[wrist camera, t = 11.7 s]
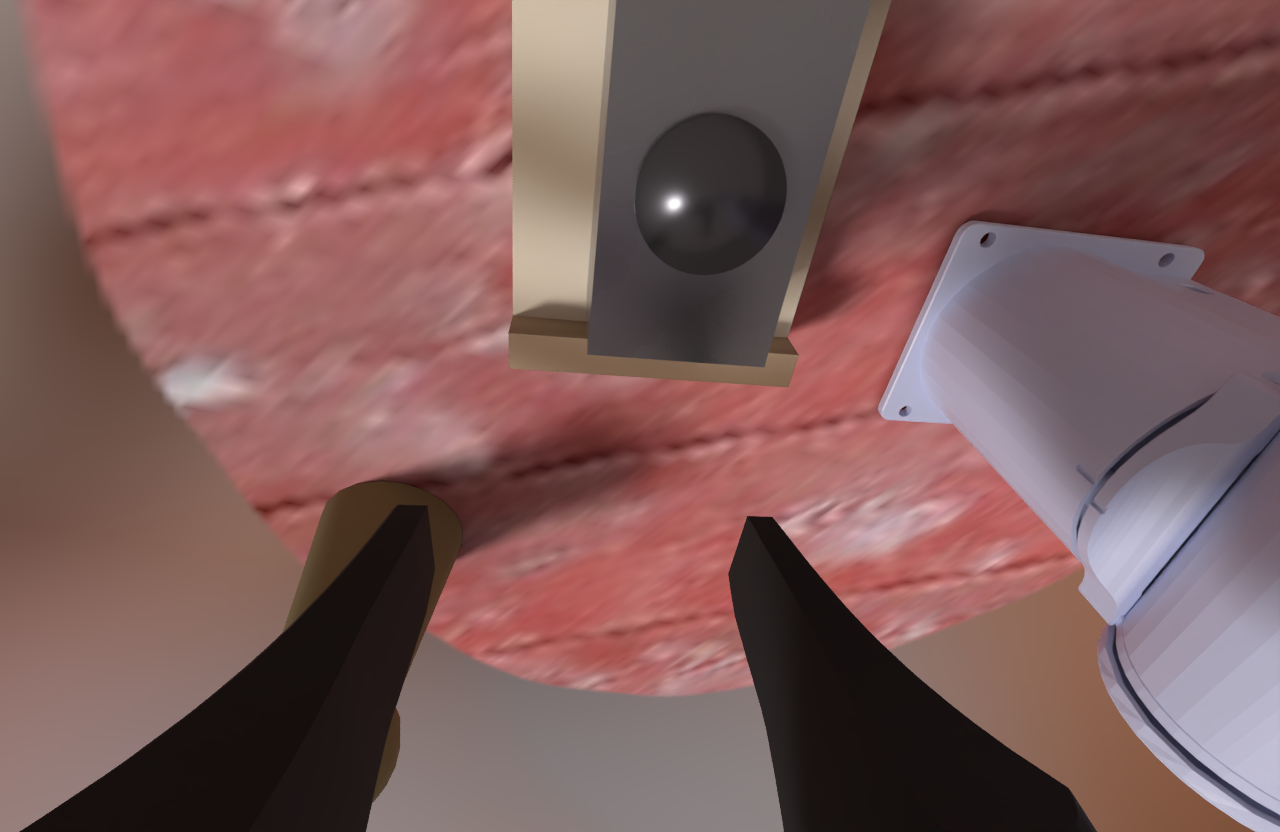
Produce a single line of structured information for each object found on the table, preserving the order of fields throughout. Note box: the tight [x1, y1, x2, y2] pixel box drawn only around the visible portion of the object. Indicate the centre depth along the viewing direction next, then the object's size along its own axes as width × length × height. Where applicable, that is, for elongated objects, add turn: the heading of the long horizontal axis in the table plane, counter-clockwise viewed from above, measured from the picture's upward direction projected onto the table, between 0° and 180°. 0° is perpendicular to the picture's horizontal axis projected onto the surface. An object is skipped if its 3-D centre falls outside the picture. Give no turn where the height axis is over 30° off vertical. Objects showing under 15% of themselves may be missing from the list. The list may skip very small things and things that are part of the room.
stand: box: [509, 0, 892, 387], centre depth 15 cm, size 12×9×3 cm
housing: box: [587, 0, 871, 367], centre depth 13 cm, size 8×5×4 cm, turn 173°
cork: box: [283, 481, 463, 803], centre depth 20 cm, size 6×6×11 cm
